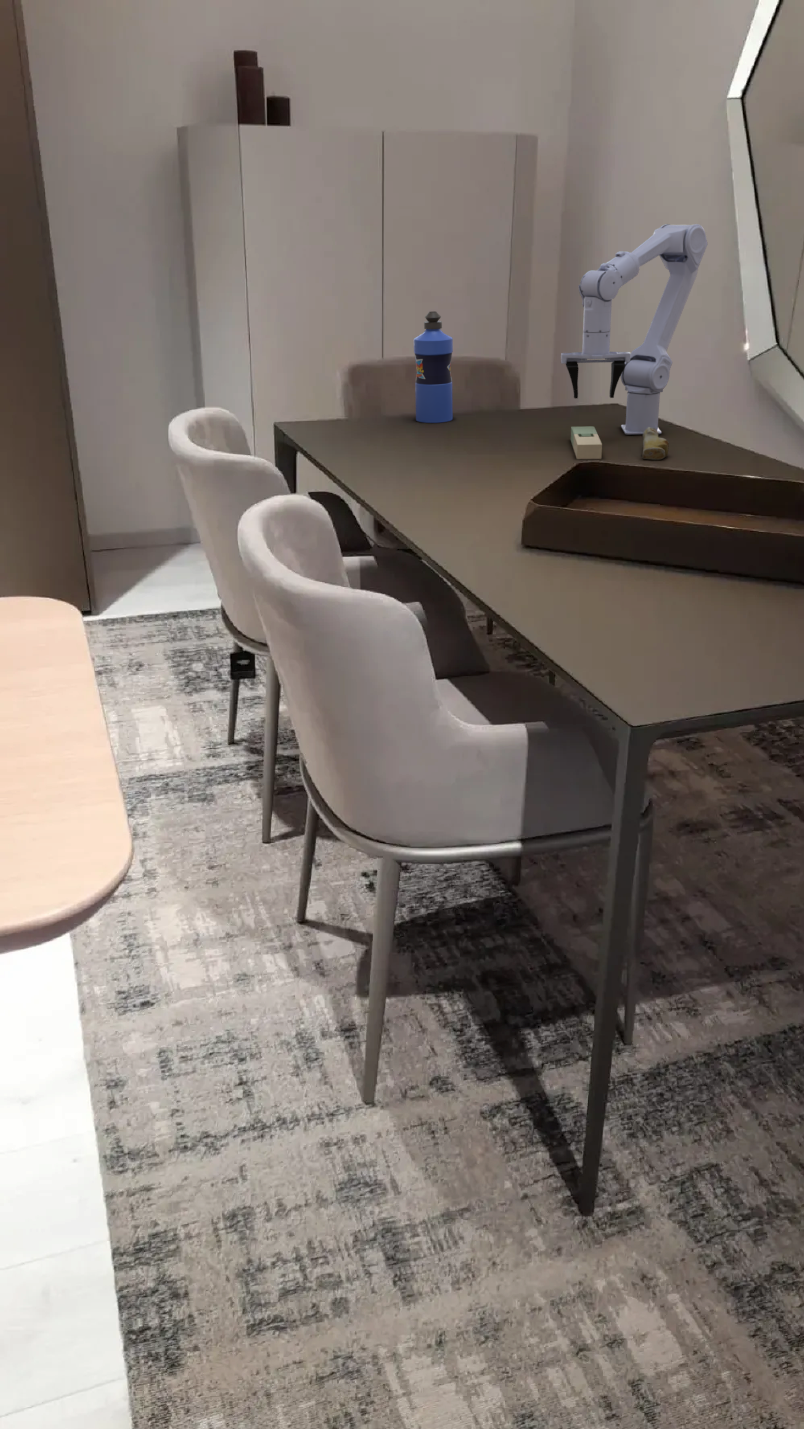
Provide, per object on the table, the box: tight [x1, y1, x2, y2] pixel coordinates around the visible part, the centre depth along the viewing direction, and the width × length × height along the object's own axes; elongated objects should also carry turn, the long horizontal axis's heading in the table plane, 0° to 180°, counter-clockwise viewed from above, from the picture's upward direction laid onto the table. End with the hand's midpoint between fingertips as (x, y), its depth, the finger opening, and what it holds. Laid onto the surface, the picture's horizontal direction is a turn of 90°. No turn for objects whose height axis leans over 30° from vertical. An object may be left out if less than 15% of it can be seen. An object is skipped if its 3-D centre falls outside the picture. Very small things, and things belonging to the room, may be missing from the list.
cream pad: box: [572, 433, 603, 460], centre depth 230 cm, size 11×5×3 cm, turn 176°
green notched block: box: [570, 426, 598, 446], centre depth 238 cm, size 10×5×3 cm, turn 176°
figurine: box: [641, 427, 670, 461], centre depth 229 cm, size 5×5×15 cm
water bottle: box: [413, 310, 454, 424], centre depth 266 cm, size 9×9×25 cm
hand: (593, 397), depth 238 cm, fingers open, 7 cm apart
